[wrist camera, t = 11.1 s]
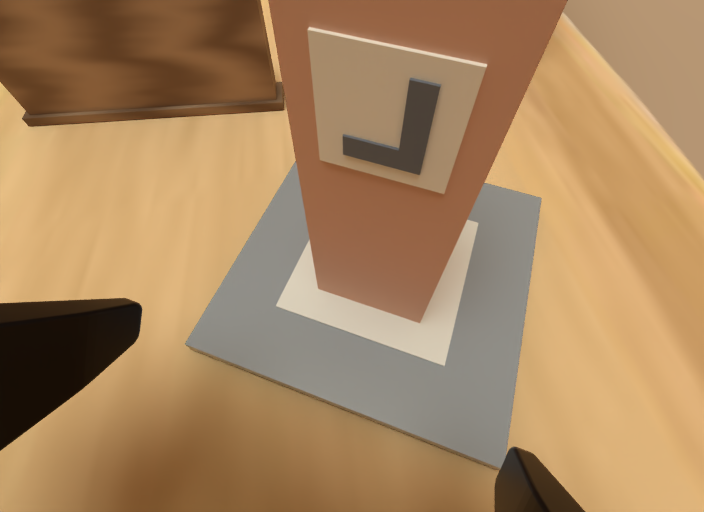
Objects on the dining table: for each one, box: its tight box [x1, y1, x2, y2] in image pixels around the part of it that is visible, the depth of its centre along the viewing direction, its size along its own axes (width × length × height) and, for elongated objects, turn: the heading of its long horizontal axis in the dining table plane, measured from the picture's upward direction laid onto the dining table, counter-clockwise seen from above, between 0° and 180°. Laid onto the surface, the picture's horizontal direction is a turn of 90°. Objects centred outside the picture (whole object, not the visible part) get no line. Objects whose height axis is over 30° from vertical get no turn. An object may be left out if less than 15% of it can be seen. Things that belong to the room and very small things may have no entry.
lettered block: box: [268, 0, 568, 323], centre depth 13 cm, size 5×5×14 cm
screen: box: [0, 0, 284, 126], centre depth 22 cm, size 17×2×8 cm, turn 96°
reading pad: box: [185, 161, 541, 470], centre depth 19 cm, size 14×14×1 cm
